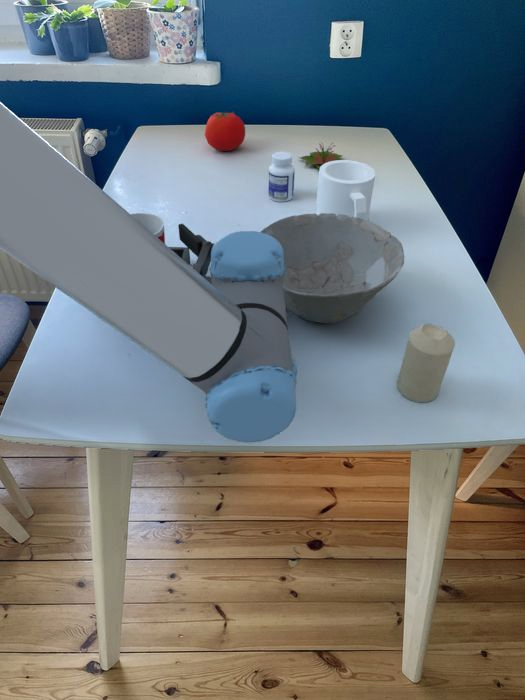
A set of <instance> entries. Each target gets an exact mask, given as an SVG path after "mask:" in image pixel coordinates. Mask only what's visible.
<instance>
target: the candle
mask: <svg viewBox="0 0 525 700" xmlns="http://www.w3.org/2000/svg"><path fill="white" fill-rule="evenodd" d="M407 339H408V340H407V343H406V347H405V351H404V353H403V358H402V362H401V366H400V370H399V374H398V377H397V383H396V386H397V390H398V391H399V393H400V394H401V395H402V396H403V397H404V398H406V399H408V400H409V401H412V402H416V403H428V402H431V401H433V400H435V399H436V398H437V396H438V395H439V392H440V390H441V387H442V384H443V381H444V379H445V376H446V373H447V370H448V366H449V365H450V361H451V358H452V355H453V352H454V349H455V346H456V342H455V338H454V337H453V336H452V334H451V333H449V332H448V331H447V329H445V328H442V327H440V326H437V325H434V324H429V323H428V324H422V325H420V326H417V327H415V328H413V329H412V330H410V333H409V335H408V338H407Z"/></svg>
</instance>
